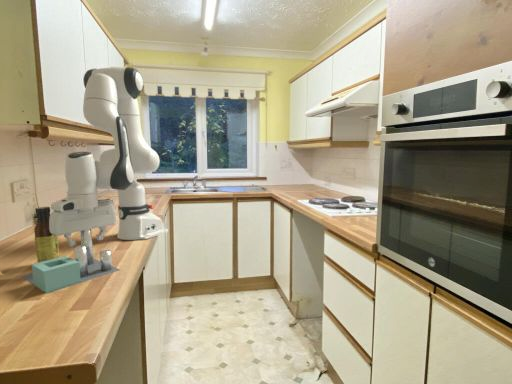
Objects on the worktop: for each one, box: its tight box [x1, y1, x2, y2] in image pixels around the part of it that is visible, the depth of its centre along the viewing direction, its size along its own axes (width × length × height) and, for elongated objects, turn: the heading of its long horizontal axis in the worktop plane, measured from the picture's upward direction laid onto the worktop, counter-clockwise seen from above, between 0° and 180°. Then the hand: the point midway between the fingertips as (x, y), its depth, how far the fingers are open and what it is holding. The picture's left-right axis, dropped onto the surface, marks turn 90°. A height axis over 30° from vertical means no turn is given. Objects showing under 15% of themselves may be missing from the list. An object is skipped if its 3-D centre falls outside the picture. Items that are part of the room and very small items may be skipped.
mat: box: [21, 258, 121, 294], centre depth 101 cm, size 21×20×1 cm
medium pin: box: [73, 245, 88, 278], centre depth 98 cm, size 3×3×9 cm
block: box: [31, 255, 81, 294], centre depth 92 cm, size 9×9×6 cm
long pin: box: [79, 229, 95, 265], centre depth 108 cm, size 3×3×14 cm
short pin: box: [99, 249, 113, 271], centre depth 103 cm, size 3×3×6 cm
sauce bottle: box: [33, 206, 60, 263], centre depth 108 cm, size 7×6×20 cm
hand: (86, 242), depth 107 cm, fingers open, 8 cm apart
